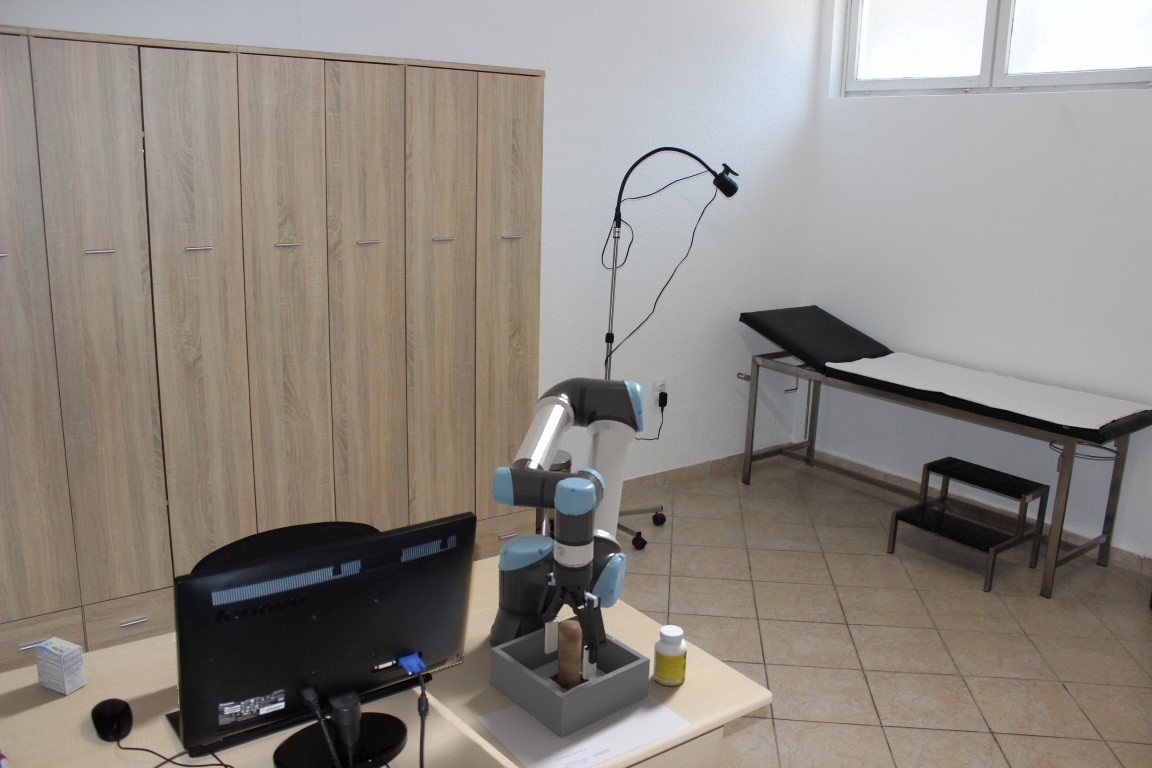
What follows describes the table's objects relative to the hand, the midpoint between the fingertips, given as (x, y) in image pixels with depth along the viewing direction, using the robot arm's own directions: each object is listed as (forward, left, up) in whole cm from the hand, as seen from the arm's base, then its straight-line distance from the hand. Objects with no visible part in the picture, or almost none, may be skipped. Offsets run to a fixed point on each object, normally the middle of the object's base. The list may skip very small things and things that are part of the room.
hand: (569, 663), depth 182 cm
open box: (0, 0, -7) cm, 7 cm away
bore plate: (0, 0, -6) cm, 6 cm away
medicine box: (-63, -76, -7) cm, 99 cm away
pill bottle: (+9, +19, -7) cm, 22 cm away
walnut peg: (0, 0, -6) cm, 6 cm away
